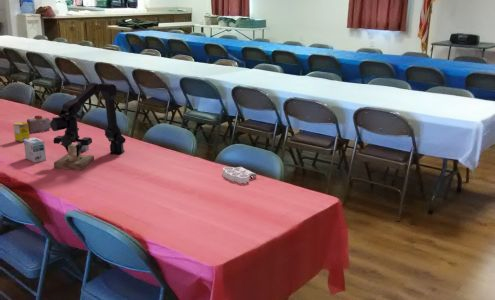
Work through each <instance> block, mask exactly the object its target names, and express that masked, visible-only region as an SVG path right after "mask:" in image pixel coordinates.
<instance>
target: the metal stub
mask: <svg viewBox="0 0 495 300" xmlns="http://www.w3.org/2000/svg"><path fill="white" fill-rule="evenodd" d="M88 151H89V145H87V146H86V145H83V147H82V149H81V151H80V152H85V153H87V152H88Z"/></svg>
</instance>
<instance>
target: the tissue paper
mask: <svg viewBox="0 0 495 300" xmlns="http://www.w3.org/2000/svg"><path fill="white" fill-rule="evenodd" d="M222 176H223V177H224V178H225V179H226V178H227V180H229V181H230V182H234V181H236V183H238V184H241V183H244V184H248V183H249V182H250V180H252V179H251V177H250V176H253V177H256V178H257V176H258V175H257V173H255V172H252V171H251V170H249V169H246V168H244V167H243V166H238V167H233V166H224V167H223V168H222ZM247 182H248V183H247Z"/></svg>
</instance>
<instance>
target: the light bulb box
mask: <svg viewBox="0 0 495 300" xmlns="http://www.w3.org/2000/svg"><path fill="white" fill-rule="evenodd" d="M23 146H24V154H25V159H27V160H28V161H30V162H32V163H38V162H43V161H47V157H46V147H45V146H46V145H45V140H42V139H39V138H37V137H30V138H29V139H24V142H23Z"/></svg>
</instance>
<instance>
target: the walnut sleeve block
mask: <svg viewBox="0 0 495 300" xmlns="http://www.w3.org/2000/svg"><path fill="white" fill-rule="evenodd" d="M79 156H80V160H79V161H78V162H77V161H69V154H68V153H67V154H64V155H63V156H62V157H60V158H58V159H57V160H55V161H54V162H53V169H60V170H61V169H63V170H75V171H83V170H84V169H86V168H87V167H88V166H90V165H91V164H93V162H95V155H90V154H79Z"/></svg>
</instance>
